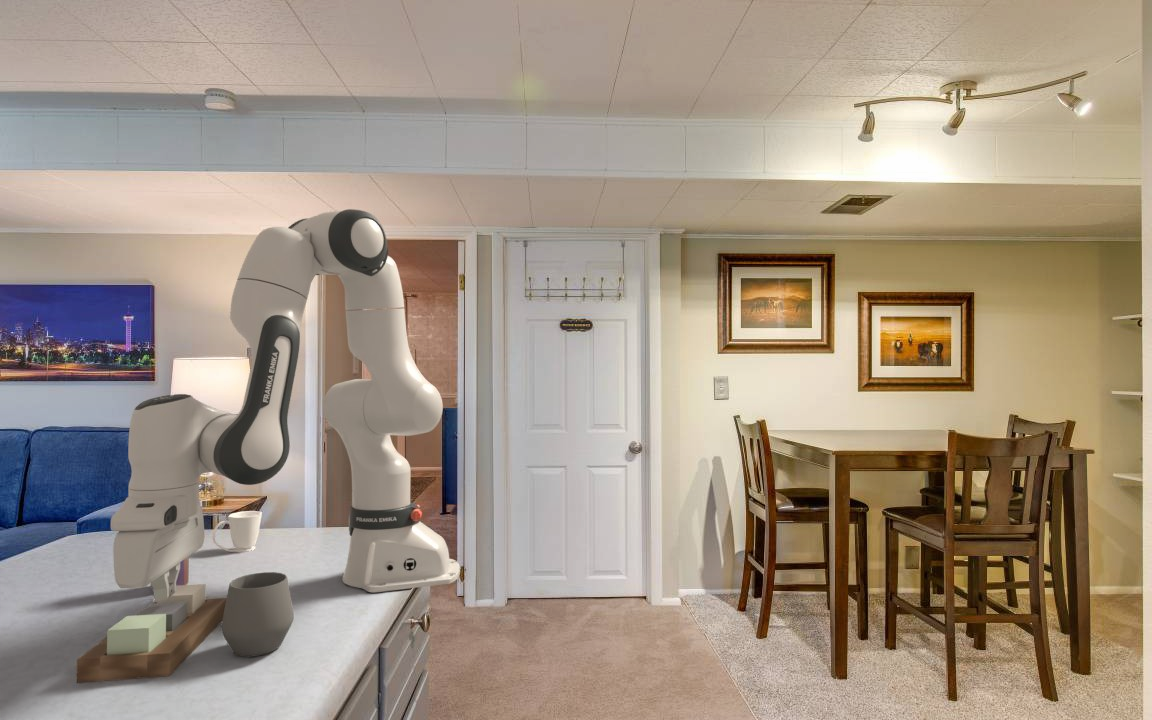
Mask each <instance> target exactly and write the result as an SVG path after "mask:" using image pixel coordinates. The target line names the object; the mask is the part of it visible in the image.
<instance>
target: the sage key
mask: <svg viewBox="0 0 1152 720" xmlns="http://www.w3.org/2000/svg"><path fill="white" fill-rule="evenodd" d="M136 615H137V614H136ZM106 632H107V633H106V634H107V636H106V637H107V655H117V654H132V653H147V652H151V651H152V650H153V649H154V648H155V647H156V646H158V645H159V644H160V643H161V642H162V641H163V640H164V639H165V638H166V614H154V615H137V616H135V615H127V616H125V617H124V618H122V619H121V620H120V621H118V622H116V624H114V625H112V626H111V627H110V628H109V629H107V630H106Z"/></svg>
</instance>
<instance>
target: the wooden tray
mask: <svg viewBox="0 0 1152 720" xmlns="http://www.w3.org/2000/svg"><path fill="white" fill-rule="evenodd" d="M226 599H227V597H217V598H216V597H215V598H205V603H204V604H203V605H202V606H201V607H200V608H199V609H198V610H196V611H195V612H194V613H187V619H186V620H185V621H184V622H183V623H182V624H181V625H180V626H179V627H178V628H176V629H175V630H174V631H168V632H166V638H165V639H164V640H163V641H162V642H161V643H160V644H159V645H158V646H156V647H155V648H154V649H153V650H152V651H151V652H147V653H132V654H117V655H107V636H105V638H104V639H102V640H100V642H98V643H97V644H95V645H94V646H93V647H92V648H90V649H89V650H87V651H86V652H84V653H83V654H82V655H81V656H79V657H78V658H77V659H76V683H89V682H90V683H91V682H103V681H104V682H105V681H117V680H131V679H143V678H144V679H145V678H160V677H170V676H171V675H172V673H174V672H175V671H176V670H177V668H178V667H180V665H181V664H183V663H184V661H186V659H187V658H188V657H189V656H190V655H191V654H192V653H193V652H194V651H195V650H196V649H197V648H198V647H199V646H200V645H201V644H202V643H203V642H204V640H205V639H206V638H207V637H208V636H210V634H211V633H212V632H213V631H214V630H216V628H217V627H218V626H219V625H221V624H222V619H223V614H224V609H225V604H226ZM151 604H157V601H156V600H155V601H153V602H152V603H151Z"/></svg>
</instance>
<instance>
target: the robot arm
mask: <svg viewBox="0 0 1152 720" xmlns="http://www.w3.org/2000/svg"><path fill="white" fill-rule="evenodd" d="M322 275H325V276H326V275H329V276H330V275H334V276H335V275H337V276H338V278H339V280H340V282H341V283H342V285H343V289H344V305H345V321H346V333H347V347H348V349H349V352H350V353H351V354H352V355H353V356H354V357H355V358H357V359H358V360H359V361H361V362H362V363H363V364H364V366H365V368H366V369H367V371H368V372H369V375H370V378H371V379H370V378H364V379H363V378H354V379H351V380H346V381H343V382H339V383H335V384H333V385H332V386H331V387H330V388H328V390H327V391H326V394H325V396H324V399H323V405H322V407H323V408H322V410H323V415H324V418H325V420H326V422H327V423H328V425H330V426H331V427H332V428H333V429H334V430H335V431H336V432H337V434H338V435H339V437H340V439H341V441H342V442H343V445H344V447H345V450H346V453H347V456H348V458H349V459H348V460H349V462H350V470H351V498H352V499H351V506H350V507H349V512H348V531H349V536H350V539H349V548H348V554H347V559H346V564H345V568H344V572H343V576H342V578H341V580H342V582H343V583H344V584H346V585H347V586H349V587H353V588H359V589H363V590H364V591H366V592H368V593H381V592H389V591H399V590H408V589H414V588H423V587H434V586H439V585H449V584H452V583H454V582H455V581H456V580H457V579H459V578H460V575H461V569H460V568H461V566H460V564H459V562H458V561H457V560H455V559H453V558H450V552H449V548H448V545H447V543H446V540H445V539H444V538H443V536H441V535H440V534H438V533H437V532H435V530H432V529H431V528H430V527H428V526H427V525H426V524H424V523H423V522H421V520H422V519H421V518H422V515H423V512H422V510H421V506H420V505H419V504H415V503H413V502H411V478H412V477H411V473H412V472H411V470H412V469H411V465H410V463H409V461H408V459H406V458H405V457H404V456H403V455H402V454H401V453H399V452H398V450H397V449H396V447H395V446H394V443H393V442H392V441H393V440H392V438H391V436H403V437H410V436H416V435H422V434H426V433H429V432H432V431H434V429H435V428H436V427H437V426H438V424H439V423H440V421H441V419H442V415H443V409H444V405H443V399H442V396H441V394H440V392H439V390H438V388H437V387H435V385H433V384H432V383H431V382H430V381H428V380H427V378H425V377H424V375H423V374H422V372H421V371H420V369H419V368H418V366H417V364H416V363H415V361H414V357H413V356H412V353H411V350H410V346H409V341H408V339H409V338H408V334H407V325H406V324H407V323H406V311H405V300H404V293H403V286H402V281H401V277H400V273H399V269H398V266H397V263H396V262H395V260H394V259H393V258H392V256H389V248H388V239H387V236H386V231H385V230H384V228H383V226H382V224H381V222H380V221H379V219H378V218H377V217H376V216H375V215H373V214H372V213H370V212H368V211H365V210H361V209H354V208H353V209H352V208H351V209H350V208H348V209H344V210H336V211H335V210H334V211H328V212H327V211H326V212H322V213H319V214H316V215H314V216H311V217H308V218H307V217H306V218H302V219H299V220H297V221H295V222H293V223H292V224H291V225H289V226H288V227H285V226H283V227H282V226H271V227H267V228H265V229H263V230H261V231H260V232H259V233H258V235H257V236H256V238H255V240H254V241H253V243H252V244H251V246H250V248H249V250H248V252H247V254H246V255H245V258H244V261H243V263H242V265H241V268H240V271H239V273H238V275H237V279H236V283H235V285H234V289H233V292H232V297H231V302H230V303H231V304H230V312H229V313H230V315H229V318H230V322H231V323H232V324H233V325H232V326H233V327H234V329H235V330H236V331H237V333H239V335H241V336H242V337H243V338H244V339H245V341H246V342H247V343H248V346H249V347H250V352H251V365H250V370H249V375H248V379H247V384H246V388H245V391H244V392H245V393H244V397H243V403H242V406H241V409H240V410H239V412H238V414H235V413H231V412H228V411H225V410H222V409H217V408H216V407H212V406H210V405H207V404H205V403H204V402H201V401H199V400H198V399H197V398H195V397H193V395H191V394H186V393H178V394H176V393H175V394H169V395H168V394H167V395H163V396H162V395H161V396H156V397H153V398H149V399H146V400H144V401H141V402H140V403H139V404H138V405H136V406H135V408H134V409H133V411H132V414H131V417H130V422H129V423H130V424H129V431H128V445H127V446H128V453H127V454H128V455H127V456H128V462H129V464H130V469H131V477H130V478H129V482H128V491H127V492H128V493H127V494H128V496H127V497H126V498H125V500H124V501H123V504H122V505H121V506H120V508H118V510H116V512H115V513H114V514H113V515H112V516H111V518H110V530H111V532H116V535H115V536H114V541H113V548H112V549H113V573H114V580H115V583H116V584H117V586H118V588H119V589H136V588H137V589H138V588H139V589H140V588H146V587H147V586H149V585H150V586H151V585H152V587H153V589H154V591H153V599H154V601H155V602H156V601H164V600H166V599H168V598H169V597H170V596H171V595H172V594H174V593H175V592H176V581H177V578H178V574H179V571H180V562H181V561H183V560H184V559H186V558H187V557H188V556H189V557H190V556H191V555H193V554H194V553H196V552H197V551H198V550H200V549H201V548H202V547H203V546H204V542H205V523H204V512H203V508H202V506H201V505H200V477H201V475H203V474H206V473H208V474H209V473H213V474H216V475H218V476H223V477H225V478H227V479H229V480H231V481H233V482H234V483H237V484H239V485H245V486H253V485H259V484H262V483H264V482H268V481H269V480H270V479H272V478H273V477H275V476H276V475H277V474H278V473H279V472H280V471H281V470H282V468H283V467H284V466H285V464H286V463H287V460H288V458H289V453H290V448H291V446H290V441H291V440H290V433H289V427H288V415H289V409H290V404H291V403H290V401H291V397H292V393H293V392H292V391H293V387H294V381H295V376H296V369H297V365H298V360H299V353H300V344H301V341H300V340H301V326H302V320H303V316H304V313H305V309H306V305H307V300H308V298H309V294H310V290H311V284H312V282H313V280H314V278H315V277H316V276H322Z"/></svg>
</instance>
